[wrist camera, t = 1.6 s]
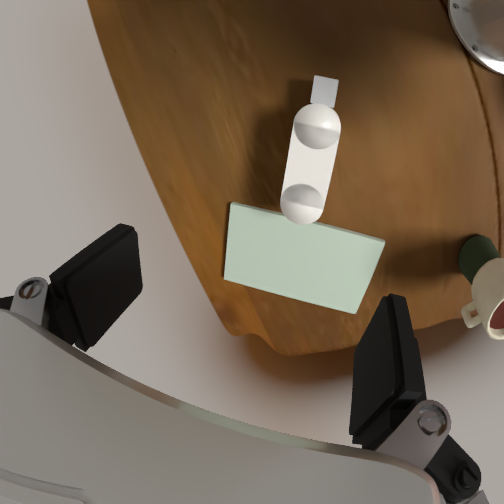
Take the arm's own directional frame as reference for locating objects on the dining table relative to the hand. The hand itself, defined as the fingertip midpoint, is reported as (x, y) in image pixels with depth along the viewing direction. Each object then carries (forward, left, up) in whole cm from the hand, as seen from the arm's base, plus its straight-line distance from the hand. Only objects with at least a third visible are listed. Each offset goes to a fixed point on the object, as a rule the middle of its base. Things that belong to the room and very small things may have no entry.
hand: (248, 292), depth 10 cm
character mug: (-25, +6, -26) cm, 36 cm away
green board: (-1, +14, -25) cm, 29 cm away
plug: (0, -2, -25) cm, 25 cm away
